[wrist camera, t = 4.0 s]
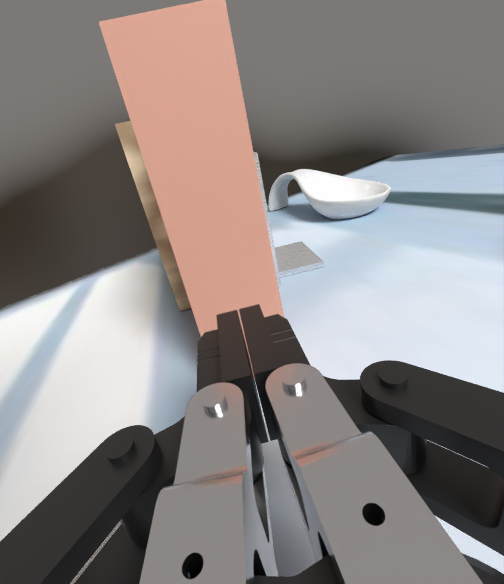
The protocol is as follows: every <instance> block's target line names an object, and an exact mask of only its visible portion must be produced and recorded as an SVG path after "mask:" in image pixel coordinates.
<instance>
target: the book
mask: <svg viewBox="0 0 504 584" xmlns="http://www.w3.org/2000/svg"><path fill="white" fill-rule="evenodd" d="M99 24H100V28H101V31H102V34H103V37H104V40H105V43H106V46H107V49H108V52H109V55H110V58H111V62H112V64H113V68H114V71H115V74H116V77H117V80H118V83H119V86H120V89H121V92H122V95H123V98H124V102H125V105H126V108H127V111H128V114H129V117H130V120H131V123H132V126H133V129H134V132H135V136H136V139H137V142H138V145H139V148H140V151H141V154H142V157H143V160H144V163H145V166H146V169H147V172H148V176H149V179H150V182H151V185H152V188H153V191H154V194H155V197H156V200H157V203H158V206H159V209H160V213H161V216H162V219H163V222H164V225H165V228H166V231H167V234H168V237H169V240H170V243H171V246H172V249H173V253H174V256H175V259H176V262H177V265H178V268H179V271H180V274H181V277H182V280H183V283H184V286H185V290H186V293H187V296H188V299H189V302H190V305H191V308H192V311H193V314H194V317H195V320H196V323H197V327H198V330H199V333H200V336H201V337H202V336H203V334H204V332H208V331H212V330H216V329H217V317H216V315H217V314H221V313H225V312H229V311H233V310H237V311H238V315H239V319H240V323H241V327H242V330H243V325H242V321H241V317H240V312H239V309H241V308H245V307H249V306H253V305H257V304H259V305H260V307H261V310H262V313H263V315H264V317H267V316H271V315H275V314H279V315H280V316H282V317H284V315H283V310H282V304H281V299H280V293H279V288H278V283H277V277H276V272H275V266H274V261H273V256H272V250H271V245H270V240H269V234H268V229H267V223H266V218H265V213H264V207H263V202H262V196H261V191H260V186H259V180H258V175H257V169H256V164H255V159H254V153H253V148H252V142H251V137H250V132H249V127H248V121H247V115H246V110H245V105H244V99H243V94H242V88H241V83H240V78H239V73H238V68H237V61H236V56H235V51H234V45H233V40H232V34H231V29H230V24H229V19H228V14H227V8H226V2H225V0H203V1H198V2H194V3H189V4H184V5H179V6H174V7H169V8H165V9H160V10H154V11H150V12H145V13H140V14H135V15H130V16H126V17H120V18H116V19H111V20H106V21H101V22H99ZM243 334H244V330H243ZM244 338H245V334H244ZM245 342H246V339H245ZM246 346H247V343H246ZM247 350H248V347H247ZM248 354H249V352H248ZM249 358H250V356H249ZM250 362H251V361H250ZM251 367H252V365H251ZM252 371H253V369H252ZM253 375H254V374H253ZM254 379H255V378H254Z"/></svg>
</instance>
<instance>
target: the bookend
mask: <svg viewBox="0 0 504 584" xmlns="http://www.w3.org/2000/svg"><path fill="white" fill-rule="evenodd" d="M253 153H254V152H253ZM254 159H255V164H256V169H257V175H258V180H259V186H260V191H261V196H262V202H263V207H264V213H265V218H266V223H267V229H268V234H269V240H270V245H271V250H272V256H273V261H274V266H275V272H276V277H277V283H278V287H279V286H281V282H280V278H281V277H285V276H289V275H293V274H297V273H301V272H305V271H309V270H313V269H317V268H321V267H324V263H323V261H322V260H321V259H320V258H319V257H318V256H317V255H316V254H315V253H313V252H312V251H311V250H310V249H309V248H308V247H307V246H306V245H305V244H304V243H302V242H297V243H293V244H289V245H285V246H280V247H276V248H274V243H273V238H272V232H271V226H270V221H269V215H268V210H267V204H266V199H265V193H264V188H263V182H262V177H261V171H260V166H259V160H258V154H257V152H255V153H254Z"/></svg>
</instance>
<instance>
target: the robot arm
mask: <svg viewBox="0 0 504 584" xmlns="http://www.w3.org/2000/svg"><path fill="white" fill-rule="evenodd" d="M239 312H240V317H241V321H242V325H243V330H244V334H245V338H244V334H243V330H242V327H241V323H240V319H239V315H238V311H237V310H233V311H229V312H225V313H221V314H217V315H216V317H217V329H216V330H212V331H208V332H204V334H203V336H202V337H201V339H200V340H199V342H198V364H197V393H196V394H195V395H194V396H193V397H192V398H191V399H190V401H189V403H188V405H187V408H186V414H185V417H184V418H182V419H181V420H180V421H178V422H177V423H175V424H174V425H172V426H170V427H168V428H166V429H165V430H163V431H161V432H159V433H157V434H155V435H154V434H153V432H152V430H151V429H150V428H148V427H146V426H142V425H135V426H129V427H126V428H123V429H121V430H119V431H117V432H115V433H114V434H112V435H111V436H109V437H108V438H107V439H106V440H105V441H103V442H102V443H101V444H100V445H99V446H98V447H97V448H96V449H95V450H94V451H93V452H92V453H91V454H90V455H89V456H88V457H87V458H86V459H85V460H84V461H83V462H82V463H81V464H80V465H79V466H78V467H77V468H76V469H75V470H74V471H73V472H71V473H70V474H69V475H68V476H67V477H66V478H65V479H64V480H63V481H62V482H61V483H60V484H59V485H58V486H57V487H56V488H55V489H54V490H53V491H52V492H51V493H50V494H49V495H48V496H47V497H46V498H45V499H44V500H43V501H42V502H41V503H40V504H39V505H37V506H36V507H35V508H34V509H33V510H32V511H31V512H30V513H29V514H28V515H27V516H26V517H25V518H24V519H23V520H22V521H21V522H20V523H19V524H18V525H17V526H16V527H15V528H14V529H13V530H12V531H11V532H10V533H9V534H8V535H7V536H6V537H5V538H4V539H2V540H1V541H0V584H70V582H71V581H72V580H73V578H74V577H75V576H76V575H77V573H78V572H79V571H80V570H81V568H82V567H83V566H84V565H85V563H86V562H87V561H88V560H89V558H90V557H91V556H92V555H93V553H94V552H95V551H96V550H97V548H98V547H99V546H100V545H101V543H102V542H103V541H104V540H105V538H106V537H107V536H108V535H109V533H110V532H111V531H112V530H113V528H114V527H115V526H116V525H117V523H118V522H119V521H120V522H121V525H120V527H119V528H118V529H117V530H116V532H115V533H114V534H113V535H112V537H111V538H110V539H109V541H108V542H107V543H106V544H105V546H104V547H103V548H102V549H101V551H100V552H99V553H98V554H97V556H96V557H95V558H94V559H93V561H92V562H91V563H90V565H89V566H88V567H87V568H86V570H85V571H84V572H83V573H82V575H81V576H80V577H79V578H78V580H77V581H76V582H75V584H504V574H502V573H501V572H499V571H498V570H496V569H494V568H492V567H490V566H488V565H486V564H484V563H483V562H481V561H479V560H477V559H474V558H472V557H470V556H467V555H465V554H462V553H461V552H460V551H459V549H458V548H457V546H456V545H455V544H454V542H453V541H452V540H451V538H450V537H449V535H448V534H447V533H446V531H445V530H444V528H443V527H442V526H441V524H440V523H439V521H438V520H437V519H436V517H435V516H437V517H438V518H440V519H442V520H444V521H445V522H447V523H449V524H450V525H452V526H454V527H455V528H457V529H459V530H461V531H462V532H464V533H466V534H467V535H469V536H471V537H472V538H474V539H476V540H478V541H479V542H481V543H483V544H484V545H486V546H488V547H490V548H491V549H493V550H495V551H496V552H498V553H500V554H501V555H503V556H504V393H502V392H499V391H496V390H493V389H489V388H486V387H483V386H479V385H476V384H473V383H470V382H466V381H463V380H460V379H457V378H453V377H450V376H447V375H443V374H440V373H437V372H434V371H430V370H427V369H424V368H420V367H417V366H414V365H411V364H407V363H404V362H400V361H380V362H376V363H373V364H371V365H369V366H368V367H366V368H365V369H364V370H363V372H362V373H361V376H360V380H337V379H331V378H327V377H324V376H322V374H321V373H320V372H319V371H318V370H317V369H316V368H314V367H312V366H311V365H310V364H309V362H308V360H307V358H306V356H305V354H304V352H303V350H302V348H301V346H300V344H299V342H298V340H297V338H296V336H295V334H294V332H293V330H292V328H291V326H290V324H289V322H288V320H287V319H285V318H284V317H282V316H280V315H279V314H275V315H271V316H267V317H264V315H263V313H262V310H261V307H260V305H259V304H257V305H253V306H249V307H245V308H241V309H239ZM245 339H246V342H245ZM246 343H247V346H246ZM247 347H248V350H247ZM248 352H249V354H248ZM249 356H250V358H249ZM250 361H251V362H250ZM251 365H252V367H251ZM252 369H253V371H252ZM253 374H254V375H253ZM254 378H255V380H254ZM255 382H256V384H255ZM256 385H257V389H258V393H259V397H260V401H261V405H262V409H263V413H264V417H265V420H266V424H267V428H268V432H269V436H270V440H271V441H272V440H276V439H278V442H279V446H280V450H281V453H282V457H283V462H284V466H285V469H286V472H287V475H288V478H289V481H290V483H291V486H292V489H293V492H294V495H295V498H296V501H297V504H298V506H299V509H300V512H301V515H302V518H303V521H304V524H305V527H306V529H307V532H308V535H309V538H310V541H311V544H312V547H313V551H314V554H315V557H316V561H317V562H316V563H315V564H313V565H312V566H310V567H309V568H308V569H306V570H305V571H303V572H302V573H300V574H298V575H296V576H293V577H279V576H278V571H277V567H276V561H275V555H274V548H273V540H272V531H271V522H270V513H269V504H268V495H267V486H266V477H265V470H264V466H263V464H264V458H263V452H262V447H261V443H265V442H268V438H267V433H266V429H265V424H264V420H263V415H262V411H261V407H260V402H259V398H258V393H257V389H256ZM427 440H429V441H427ZM430 441H431V442H430ZM432 442H433V443H432ZM434 443H436V444H438V445H436V444H434ZM439 445H440V446H439ZM441 446H442V447H441ZM443 447H445V448H447V449H445V448H443ZM448 449H449V450H448ZM450 450H451V451H450ZM452 451H454V452H456V453H458V454H456V453H454V452H452ZM459 454H460V455H459ZM461 455H463V456H465V457H467V458H465V457H463V456H461ZM468 458H469V459H468ZM470 459H472V460H474V461H476V462H474V461H472V460H470ZM477 462H478V463H477ZM479 463H481V464H483V465H485V466H483V465H481V464H479ZM486 466H487V467H486ZM488 467H489V468H488ZM434 515H435V516H434Z"/></svg>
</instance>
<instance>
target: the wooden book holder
mask: <svg viewBox="0 0 504 584" xmlns="http://www.w3.org/2000/svg"><path fill="white" fill-rule="evenodd" d="M115 126H116V129H117V132H118V135H119V138H120V140H121V143H122V146H123V149H124V152H125V155H126V157H127V161H128V164H129V167H130V169H131V172H132V175H133V178H134V181H135V184H136V187H137V190H138V193H139V195H140V198H141V201H142V204H143V207H144V210H145V213H146V216H147V219H148V222H149V225H150V227H151V230H152V233H153V236H154V239H155V242H156V245H157V248H158V251H159V254H160V257H161V259H162V262H163V265H164V268H165V271H166V274H167V277H168V280H169V283H170V286H171V288H172V291H173V294H174V297H175V300H176V303H177V306H178V309H179V311H182V310H186V309H190V308H191V305H190V302H189V299H188V296H187V293H186V290H185V286H184V283H183V280H182V277H181V274H180V271H179V268H178V265H177V262H176V259H175V256H174V253H173V249H172V246H171V243H170V240H169V237H168V234H167V231H166V228H165V225H164V222H163V219H162V216H161V213H160V209H159V206H158V203H157V200H156V197H155V194H154V191H153V188H152V185H151V182H150V179H149V176H148V172H147V169H146V166H145V163H144V160H143V157H142V154H141V151H140V148H139V145H138V142H137V139H136V136H135V132H134V129H133V126H132V123H131V121H128V122H123V123H119V124H115Z"/></svg>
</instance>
